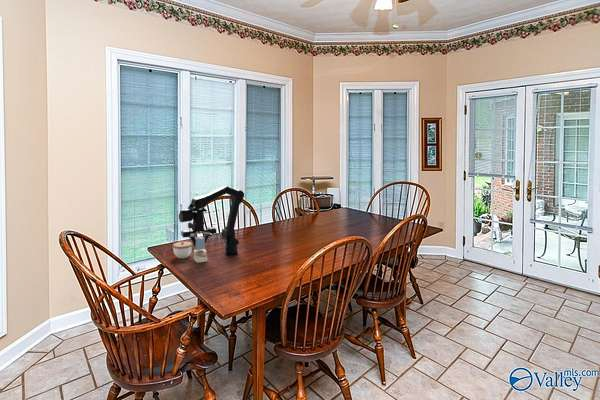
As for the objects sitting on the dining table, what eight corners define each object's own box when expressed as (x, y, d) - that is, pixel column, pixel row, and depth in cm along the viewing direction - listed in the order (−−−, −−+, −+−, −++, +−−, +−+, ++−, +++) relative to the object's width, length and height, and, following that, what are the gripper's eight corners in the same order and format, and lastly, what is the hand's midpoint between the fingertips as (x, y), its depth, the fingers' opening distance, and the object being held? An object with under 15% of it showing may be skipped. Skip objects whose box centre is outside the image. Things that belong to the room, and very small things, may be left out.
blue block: (202, 246, 209) (202, 236, 208) (205, 248, 205) (204, 238, 204) (194, 247, 207) (193, 237, 206) (196, 250, 203) (195, 239, 202)
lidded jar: (172, 260, 207) (172, 244, 205) (174, 254, 217) (173, 239, 215) (192, 259, 209) (191, 243, 208) (192, 253, 220) (192, 238, 218)
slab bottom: (204, 258, 211) (204, 253, 211) (207, 261, 206) (207, 256, 206) (194, 260, 208) (193, 255, 208) (196, 263, 203) (196, 258, 203)
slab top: (204, 253, 211) (204, 248, 210) (206, 256, 205) (206, 251, 205) (194, 255, 208) (193, 250, 208) (195, 258, 203) (195, 253, 202)
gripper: (210, 215, 215) (211, 240, 217) (178, 218, 205) (179, 245, 208) (216, 219, 205) (217, 245, 208) (182, 222, 196) (184, 250, 199)
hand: (199, 246), depth 206 cm, fingers closed on blue block, 5 cm apart
